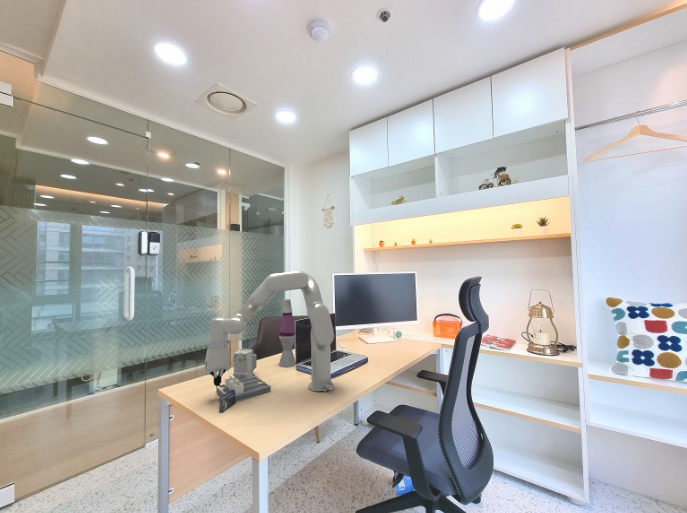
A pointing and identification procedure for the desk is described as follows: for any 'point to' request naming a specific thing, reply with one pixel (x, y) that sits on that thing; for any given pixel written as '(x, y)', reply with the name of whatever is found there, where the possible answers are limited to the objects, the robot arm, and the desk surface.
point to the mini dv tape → (226, 401)
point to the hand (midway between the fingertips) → (217, 385)
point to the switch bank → (247, 388)
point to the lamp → (287, 335)
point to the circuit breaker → (244, 363)
